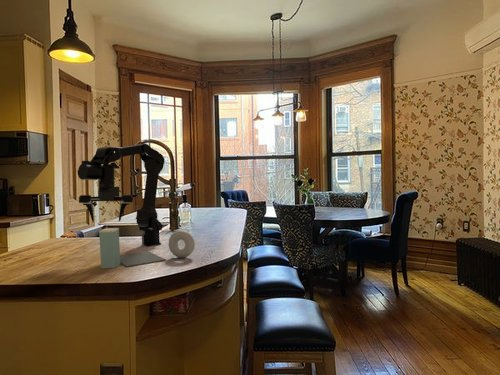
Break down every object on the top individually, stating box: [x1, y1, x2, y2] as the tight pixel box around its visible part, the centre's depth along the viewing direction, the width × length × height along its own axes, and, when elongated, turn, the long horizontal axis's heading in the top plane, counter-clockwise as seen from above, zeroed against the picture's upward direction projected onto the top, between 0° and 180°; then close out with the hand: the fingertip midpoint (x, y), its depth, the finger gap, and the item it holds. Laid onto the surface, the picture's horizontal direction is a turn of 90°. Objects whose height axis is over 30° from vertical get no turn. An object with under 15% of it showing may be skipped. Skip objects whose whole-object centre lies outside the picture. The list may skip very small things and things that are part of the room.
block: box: [98, 227, 121, 269], centre depth 124 cm, size 4×4×12 cm
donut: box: [168, 229, 196, 259], centre depth 133 cm, size 10×4×10 cm, turn 74°
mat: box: [120, 250, 167, 268], centre depth 133 cm, size 14×18×1 cm
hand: (106, 221), depth 139 cm, fingers open, 9 cm apart
